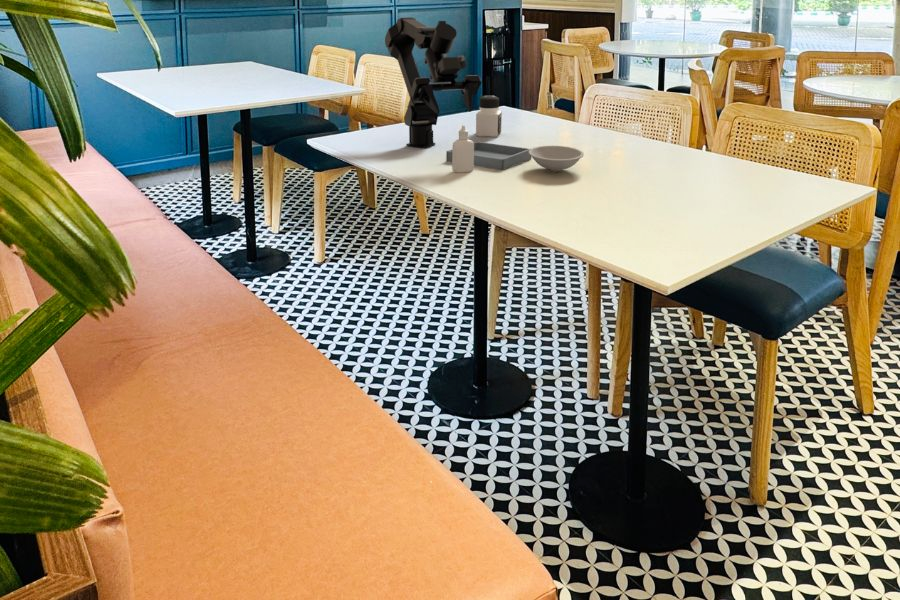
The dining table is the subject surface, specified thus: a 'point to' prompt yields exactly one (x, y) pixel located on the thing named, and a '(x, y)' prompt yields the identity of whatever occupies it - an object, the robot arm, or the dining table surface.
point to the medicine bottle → (488, 117)
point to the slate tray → (496, 155)
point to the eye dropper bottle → (463, 153)
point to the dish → (556, 157)
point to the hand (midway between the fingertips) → (454, 111)
